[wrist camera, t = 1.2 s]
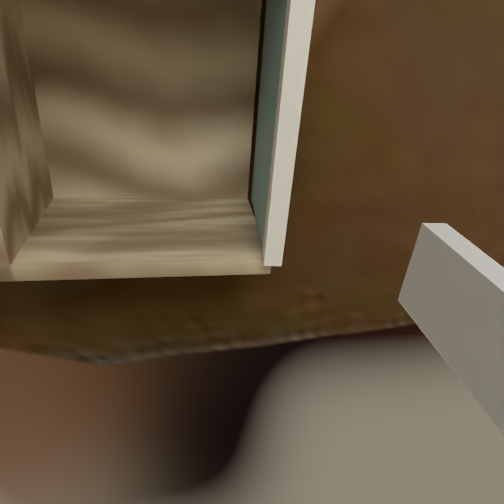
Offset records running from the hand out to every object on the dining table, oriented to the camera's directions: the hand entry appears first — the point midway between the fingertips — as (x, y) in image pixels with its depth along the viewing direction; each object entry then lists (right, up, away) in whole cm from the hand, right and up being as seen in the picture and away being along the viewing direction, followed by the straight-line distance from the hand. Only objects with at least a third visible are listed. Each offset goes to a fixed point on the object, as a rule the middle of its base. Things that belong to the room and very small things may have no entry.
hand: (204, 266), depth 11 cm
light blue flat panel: (+2, +13, +22) cm, 26 cm away
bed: (-8, +13, +22) cm, 27 cm away
